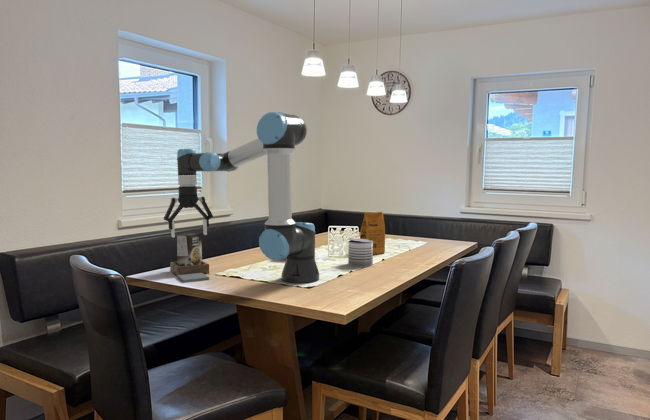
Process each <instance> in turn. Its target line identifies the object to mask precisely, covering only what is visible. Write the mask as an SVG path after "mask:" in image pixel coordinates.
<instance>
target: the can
mask: <svg viewBox="0 0 650 420" xmlns="http://www.w3.org/2000/svg"><path fill="white" fill-rule="evenodd" d="M347 255H348V259H347V260H348V262H347V263H348V264H347V265H348V266H351V267H357V268H366V267H371V266H373V263H374V262H373V260H374V259H373V258H374V254H373V241H371V240H367V239H360V238H359V237H358V238H357V237H356V238H354V237H352V238H348V254H347Z"/></svg>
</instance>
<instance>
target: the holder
mask: <svg viewBox="0 0 650 420" xmlns="http://www.w3.org/2000/svg"><path fill="white" fill-rule="evenodd" d="M169 265H170V269H169V270H170V272H171V274H173V275H175V276H176V277H177V275H184V274H193V273H203V274H205V275H208V274H210V264H209V263H208V262H206V261H204V260H202V265H192V266H182V267H179V266H178V265H177V261H170V263H169Z"/></svg>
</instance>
